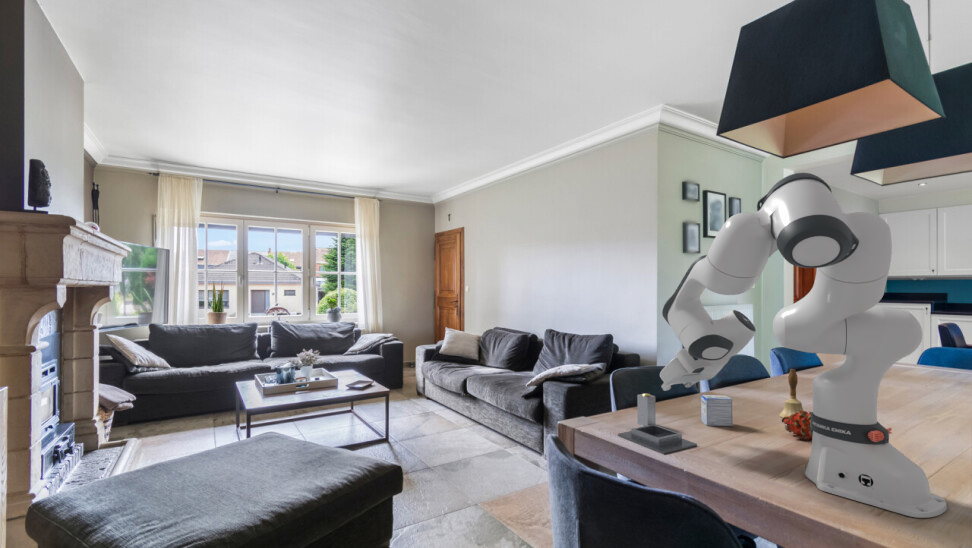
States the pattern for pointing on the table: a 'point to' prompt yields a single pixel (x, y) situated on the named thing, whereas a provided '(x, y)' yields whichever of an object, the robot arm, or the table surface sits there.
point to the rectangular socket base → (658, 439)
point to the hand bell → (792, 397)
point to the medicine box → (716, 410)
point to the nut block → (646, 409)
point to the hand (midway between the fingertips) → (675, 386)
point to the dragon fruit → (799, 424)
